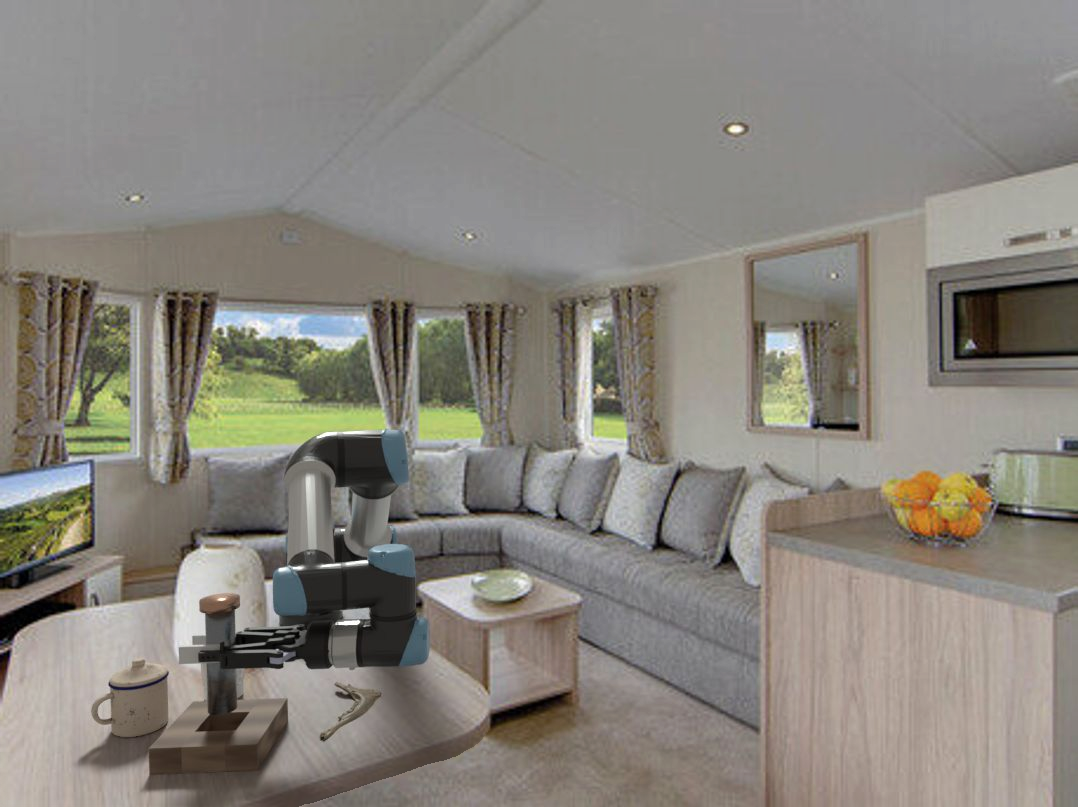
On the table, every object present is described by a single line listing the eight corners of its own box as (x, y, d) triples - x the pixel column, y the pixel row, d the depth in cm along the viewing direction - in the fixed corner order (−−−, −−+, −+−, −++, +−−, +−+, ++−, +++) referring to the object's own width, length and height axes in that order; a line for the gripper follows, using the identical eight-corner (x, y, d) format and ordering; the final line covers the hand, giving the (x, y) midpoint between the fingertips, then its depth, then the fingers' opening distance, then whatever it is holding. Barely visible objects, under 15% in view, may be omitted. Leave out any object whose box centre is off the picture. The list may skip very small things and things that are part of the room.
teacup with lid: (155, 709, 131) (153, 645, 130) (179, 723, 125) (177, 657, 125) (81, 735, 121) (79, 667, 121) (104, 752, 116) (102, 680, 115)
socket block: (194, 724, 125) (193, 701, 125) (288, 720, 126) (287, 698, 126) (149, 774, 109) (148, 748, 109) (257, 770, 110) (256, 744, 110)
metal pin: (210, 701, 120) (208, 593, 119) (247, 700, 120) (245, 592, 119) (195, 718, 114) (192, 604, 113) (234, 716, 114) (231, 603, 113)
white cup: (236, 684, 142) (235, 633, 141) (253, 696, 136) (252, 643, 136) (194, 696, 136) (193, 644, 136) (210, 709, 130) (208, 655, 130)
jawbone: (381, 690, 140) (382, 680, 140) (374, 744, 120) (375, 732, 120) (334, 690, 139) (334, 679, 139) (318, 744, 119) (319, 732, 118)
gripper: (321, 689, 109) (162, 695, 108) (345, 647, 126) (209, 651, 125) (320, 640, 109) (160, 645, 107) (344, 604, 126) (207, 608, 125)
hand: (187, 648), depth 116 cm, fingers closed on metal pin, 4 cm apart
